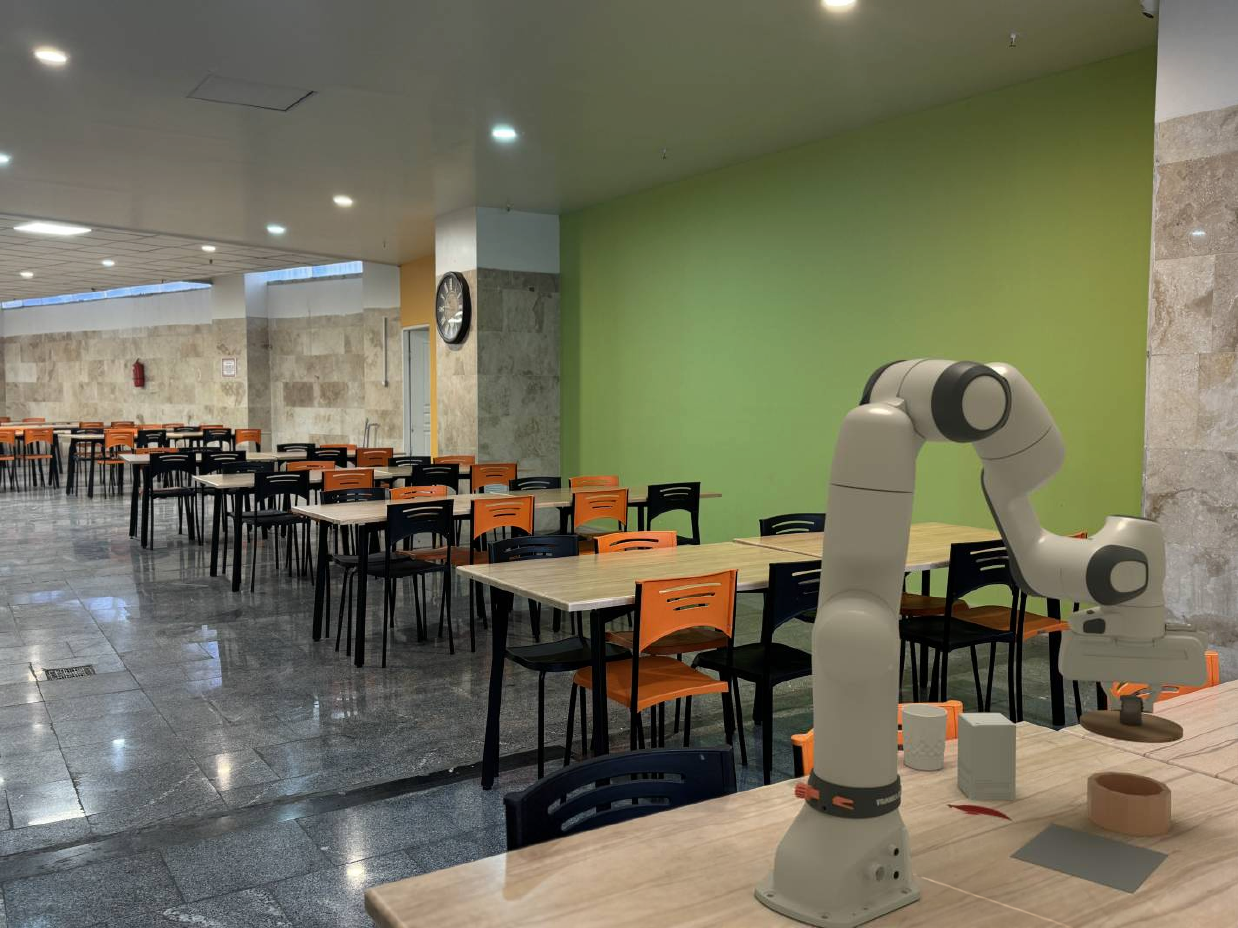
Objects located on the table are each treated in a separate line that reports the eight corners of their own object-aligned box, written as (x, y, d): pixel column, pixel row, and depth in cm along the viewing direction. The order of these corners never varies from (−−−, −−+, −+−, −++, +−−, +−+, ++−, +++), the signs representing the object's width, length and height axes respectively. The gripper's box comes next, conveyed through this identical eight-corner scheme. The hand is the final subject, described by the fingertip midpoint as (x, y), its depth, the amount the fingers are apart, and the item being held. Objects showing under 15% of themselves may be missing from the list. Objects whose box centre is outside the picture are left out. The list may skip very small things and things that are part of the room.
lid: (1162, 749, 142) (1163, 716, 141) (1064, 727, 152) (1064, 696, 152) (1197, 728, 151) (1197, 697, 151) (1101, 710, 161) (1102, 680, 161)
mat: (1132, 896, 128) (1132, 893, 128) (1009, 858, 140) (1009, 856, 140) (1168, 857, 140) (1168, 854, 140) (1052, 825, 151) (1052, 823, 151)
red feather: (937, 809, 159) (937, 797, 159) (955, 802, 162) (955, 790, 161) (1004, 834, 149) (1005, 822, 149) (1022, 827, 152) (1022, 814, 152)
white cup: (892, 759, 181) (892, 705, 181) (929, 755, 183) (929, 701, 183) (917, 774, 173) (918, 717, 173) (955, 769, 176) (956, 713, 175)
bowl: (1156, 844, 144) (1157, 803, 144) (1077, 823, 152) (1078, 784, 152) (1178, 822, 152) (1178, 783, 152) (1102, 803, 160) (1102, 766, 160)
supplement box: (1016, 802, 161) (1017, 724, 160) (970, 801, 161) (971, 724, 160) (1000, 785, 168) (1001, 711, 168) (956, 785, 168) (956, 711, 168)
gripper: (1201, 620, 151) (1200, 709, 152) (1056, 614, 156) (1055, 701, 157) (1215, 628, 145) (1213, 721, 146) (1064, 622, 150) (1063, 712, 151)
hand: (1130, 711), depth 151 cm, fingers closed on lid, 3 cm apart
